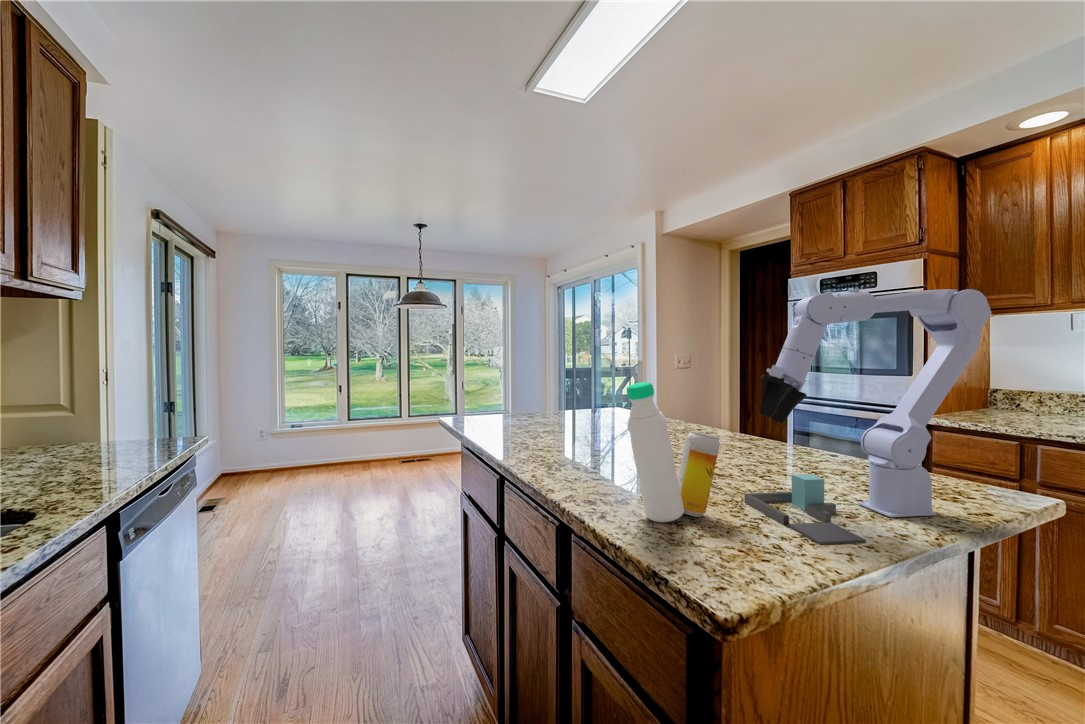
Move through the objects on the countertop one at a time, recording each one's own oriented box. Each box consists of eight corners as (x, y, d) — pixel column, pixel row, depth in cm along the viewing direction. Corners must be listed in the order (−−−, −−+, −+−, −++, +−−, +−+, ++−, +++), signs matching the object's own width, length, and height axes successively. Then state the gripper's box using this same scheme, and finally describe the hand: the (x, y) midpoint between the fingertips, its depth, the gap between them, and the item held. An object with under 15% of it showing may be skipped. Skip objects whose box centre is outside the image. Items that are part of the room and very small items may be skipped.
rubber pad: (830, 524, 82) (830, 522, 82) (866, 542, 74) (866, 539, 74) (787, 526, 81) (788, 524, 81) (819, 544, 73) (819, 542, 73)
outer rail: (804, 500, 96) (804, 491, 96) (854, 523, 83) (854, 512, 83) (743, 503, 95) (743, 493, 95) (783, 527, 82) (783, 515, 82)
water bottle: (678, 502, 89) (653, 377, 86) (690, 518, 82) (663, 382, 79) (642, 510, 89) (616, 385, 87) (651, 527, 82) (623, 391, 80)
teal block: (810, 503, 94) (810, 474, 94) (824, 509, 90) (824, 479, 90) (791, 504, 93) (791, 474, 93) (804, 510, 89) (804, 479, 89)
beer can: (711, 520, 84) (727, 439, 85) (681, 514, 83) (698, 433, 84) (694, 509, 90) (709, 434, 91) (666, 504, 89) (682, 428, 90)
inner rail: (832, 513, 88) (832, 502, 88) (854, 523, 83) (854, 512, 83) (805, 514, 88) (805, 503, 88) (825, 524, 82) (825, 513, 82)
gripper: (786, 357, 98) (762, 416, 98) (765, 338, 87) (738, 405, 88) (822, 367, 93) (797, 429, 93) (804, 348, 82) (776, 418, 83)
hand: (771, 418), depth 90 cm, fingers open, 7 cm apart
